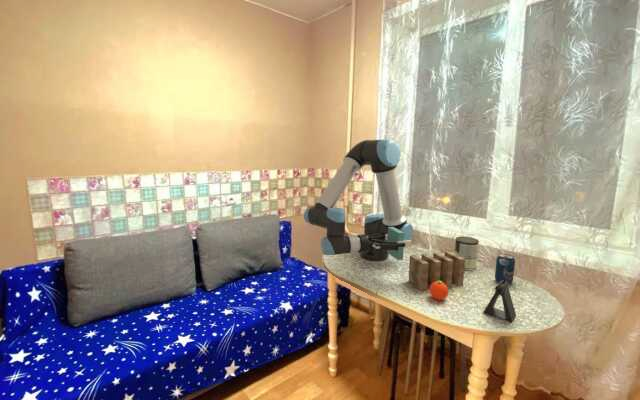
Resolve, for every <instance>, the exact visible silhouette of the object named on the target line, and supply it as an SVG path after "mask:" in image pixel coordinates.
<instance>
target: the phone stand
mask: <svg viewBox="0 0 640 400" xmlns="http://www.w3.org/2000/svg"><path fill="white" fill-rule="evenodd" d="M503 281H504V280H501V281H500V283H499V282H498V284H497V285H496V286H495V288H494V289H495V292H494V294H493V296H492V297H491V298H490V300H489V302H488V303H487V305H486V307H485V308H484V310H483V314H485V315H487V316H490V317H493V318H497V319H500V320H502V319H503V321H505V320H506V322H508V321H509V322H508V323H513V321H514V319H515V318H516V316H517V313H516V310H515V307H514V303H513V300H512V296H511V292H510V284H509V282H508V281H506V282H505V283H504V284H502V282H503ZM499 297H501V300H502V305H503V309H504V310H502V309H499V308H496V307H495V306H496V304H497V301H498V299H499Z"/></svg>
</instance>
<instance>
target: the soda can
mask: <svg viewBox="0 0 640 400" xmlns="http://www.w3.org/2000/svg"><path fill="white" fill-rule="evenodd" d="M515 267H516V260H515V256H514V255H512V254H509V253H508V254H507V253H499V254H498V256H497V258H496V264H495V272H494V279H495V281H496V282H497V283H498V284H499V283H500V281H501V280H504V281H503V282H502V283H501V285H503V284H504V283H505V282H506V281H508V282H509V285H511V284H512V283H513V282H514V275H515Z"/></svg>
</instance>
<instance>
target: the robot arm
mask: <svg viewBox="0 0 640 400" xmlns="http://www.w3.org/2000/svg"><path fill="white" fill-rule="evenodd" d="M400 161H401V149H400V146H399V144H397V143H396V142H395V141H394V140H392V139H384V138H383V139H365V140H361V141H360V142H358V143H356V144H355V145H354V146H353V147H352V148H351V149H350V150H349V151H348V152H347V153H346V155H345V156H344V157H343V158H342V164H341V166H340V167H339V169H338V170H337V172H336V173H335V174H334V176H333V177H332V179H331V180H330V181H329V183H328V185H327V186H326V188H325V189H324V191H323V192H322V194H321V195H320V196H319V198H318V200H316V203H315V204H314V205H313V206H311V207H307V208H306V209H305V210H304V212H303V219H304V221H305V222H306V223H307V224H309V225H311V226H316V227H319V228H323V229H326V236H324V237H322V238H321V241H320V248H321V253H322V254H323V255H324V256H335V255H345V254H349V255H353V254H357V253H360V257H361V258H363V259H364V260H367V261H374V262H375V261H377V262H378V261H385V260H387V259H388V258H389V255H390V254H388V253H387V250H399V248H411V247H412V240H411V239H412V236H413V233H414V226H413V225H412V224H411V223H410V222H407V221H408V220H407V216H406V215H404V214H403V212H402V205H401V200H400V195H399V189H398V185H397V184H398V183H397V179H396V174H395V173H396V172H395V170H396V169H397V168H398V164H399V163H400ZM364 166H370V169H371V173H373V174H375V177H376V181H377V186H378V190H379V191H378V192H379V196H380V201H381V207H382V212H383V214H381V213H378V214H377V213H375V214H368V215H366V216H365V218H364V223H363V224H364V225H363V226H364V227H363V228H364V229H363V231H364V232H363V233H364V234H357V235H356V234H350V235H346V212H345V209H343V208H342V207H335V205H336V203H337V202H338V200H339V199H340V197H341V196H342V194H344V193H343V192H344V191H345V190H346V188H347V186H349V184H350V182H351V181H352V179H353V178H354V176H355V175H356V173H357V172H359V171H361V170H362V168H363V167H364ZM388 227H394V228H396V229H398V230H400V231H402V232H404V241H397V242H387V240H388Z"/></svg>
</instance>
